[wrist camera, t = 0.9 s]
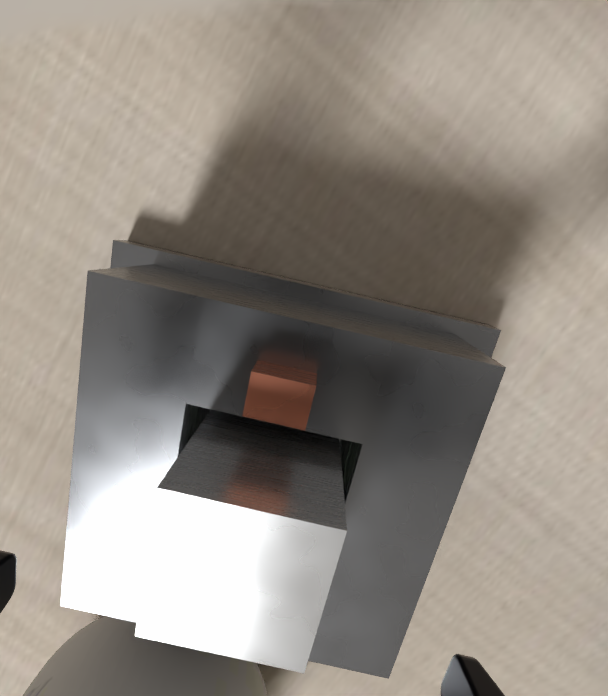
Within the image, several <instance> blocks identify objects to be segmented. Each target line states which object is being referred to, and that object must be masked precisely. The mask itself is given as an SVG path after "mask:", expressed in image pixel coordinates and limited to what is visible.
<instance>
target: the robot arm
mask: <svg viewBox="0 0 608 696" xmlns="http://www.w3.org/2000/svg"><path fill="white" fill-rule="evenodd" d="M16 563H17V559H16V556H15V554H13V553H9V552H5V551H0V613H1V612H2V610H3V609H4V607H5V606H6V604H7V603H8V601H9V600H10V598H11V596H12V594H13V592H14V589H15V585H16ZM441 696H505V695H504V694H503V693H502V691H501V690H500V689H499V687H498V686H497V685H496V683H495V682H494V681H493V680H492V678H491V677H490V676H489V674H488V673H487V672H486V671H485V669H484V668H483V667H482V665H481V664H480V663H479V662H478V661H477V660H476V659H475V658H473V657H469V656H464V655H460V654H456V655H454V656H453V657H452V659H451V662H450V664H449V667H448V669H447V671H446V674H445V676H444V678H443V681H442V685H441Z"/></svg>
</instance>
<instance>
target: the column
mask: <svg viewBox="0 0 608 696" xmlns="http://www.w3.org/2000/svg"><path fill="white" fill-rule="evenodd" d="M346 533H347V524H346V512H345V500H344V489H343V477H342V465H341V454H340V439H338V438H334V437H330V436H325V435H321V434H317V433H312V432H308V431H303V430H299V429H295V428H290V427H286V426H282V425H277V424H273V423H268V422H264V421H260V420H255V419H251V418H247V417H242V416H238V415H233V414H229V413H225V412H220V411H216V410H212V409H210V411H209V413H208V414H207V416H206V417H205V419H204V420H203V422H202V423H201V424H200V426H199V427H198V429H197V430H196V432H195V433H194V435H193V436H192V437H191V439H190V440H189V442H188V443H187V445H186V446H185V448H184V449H183V450H182V452H181V453H180V455H179V456H178V458H177V459H176V461H175V462H174V464H173V465H172V466H171V468H170V469H169V471H168V472H167V474H166V475H165V477H164V478H163V479H162V481H161V482H160V484H159V485H158V487H157V489H156V496H155V503H154V510H153V516H152V523H151V530H150V537H149V543H148V550H147V557H146V564H145V571H144V577H143V584H142V591H141V598H140V604H139V611H138V618H137V625H136V632H135V636H137V637H142V638H146V639H151V640H155V641H160V642H164V643H169V644H173V645H178V646H182V647H187V648H191V649H196V650H201V651H205V652H210V653H214V654H219V655H223V656H228V657H232V658H237V659H241V660H246V661H250V662H255V663H259V664H264V665H268V666H273V667H277V668H282V669H286V670H291V671H295V672H300V673H304V672H305V669H306V666H307V662H308V659H309V656H310V652H311V649H312V646H313V643H314V639H315V636H316V633H317V629H318V626H319V623H320V619H321V616H322V613H323V609H324V606H325V603H326V599H327V596H328V593H329V589H330V586H331V583H332V579H333V576H334V573H335V569H336V566H337V563H338V560H339V556H340V553H341V550H342V546H343V543H344V540H345V536H346Z"/></svg>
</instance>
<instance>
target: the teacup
mask: <svg viewBox="0 0 608 696" xmlns="http://www.w3.org/2000/svg"><path fill="white" fill-rule="evenodd" d="M136 625H137V623H136V622H132V621H127V620H123V619H118V618H114V617H109V616H104V617H102V618H100V619H98V620H96V621H94V622H92V623H90V624H89V625H87V626H86V627H84V628H83V629H81V630H80V631H78V632H77V633H76V634H74V635H73V636H72V637H71V638H70V639H69V640H68V641H66V642H65V643H64V644H63V645H62V646H61V647H60V648H59V649H58V650H57V651H56V652H55V653H54V655H53V656H52V657H51V658H50V659H49V660H48V662H47V663H46V664H45V665H44V667H43V668H42V669H41V671H40V672H39V674H38V675H37V676H36V678H35V679H34V680H33V682H32V683H31V684H30V686H29V687H28V689H27V690H26V692H25V693H24V694H23V696H268V695H267V690H266V686H265V683H264V680H263V677H262V674H261V672H260V669H259V667H258V665H257V663H255V662H250V661H246V660H241V659H237V658H232V657H228V656H223V655H219V654H214V653H210V652H205V651H201V650H196V649H191V648H187V647H182V646H178V645H173V644H169V643H164V642H160V641H155V640H151V639H146V638H142V637H137V636H135V632H136Z"/></svg>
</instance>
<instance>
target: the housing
mask: <svg viewBox="0 0 608 696" xmlns="http://www.w3.org/2000/svg"><path fill="white" fill-rule="evenodd" d="M500 331H501V330H499V329H497V328H495V327H493V326H490V325H487V324H483V323H479V322H474V321H470V320H466V319H462V318H457V317H453V316H449V315H444V314H440V313H436V312H431V311H427V310H423V309H419V308H414V307H410V306H406V305H401V304H397V303H393V302H389V301H384V300H380V299H376V298H371V297H367V296H363V295H359V294H354V293H350V292H346V291H341V290H337V289H333V288H328V287H324V286H320V285H316V284H311V283H307V282H303V281H298V280H294V279H290V278H286V277H281V276H277V275H273V274H268V273H264V272H260V271H255V270H251V269H247V268H243V267H238V266H234V265H230V264H225V263H221V262H217V261H213V260H208V259H204V258H200V257H195V256H191V255H187V254H183V253H178V252H174V251H170V250H165V249H161V248H157V247H152V246H148V245H144V244H140V243H135V242H131V241H125V240H113V247H112V258H111V268H109V269H99V270H89V271H88V275H87V287H86V299H85V311H84V323H83V335H82V348H81V360H80V372H79V384H78V396H77V409H76V421H75V433H74V445H73V457H72V469H71V482H70V494H69V506H68V518H67V530H66V543H65V555H64V567H63V579H62V591H61V603H60V606H64V607H69V608H73V609H78V610H82V611H87V612H91V613H96V614H100V615H105V616H109V617H114V618H118V619H123V620H127V621H132V622H136V623H137V618H138V611H139V604H140V598H141V591H142V584H143V577H144V571H145V564H146V557H147V550H148V543H149V537H150V530H151V523H152V516H153V510H154V503H155V496H156V489H157V487H158V485H159V484H160V482H161V481H162V479H163V478H164V477H165V475H166V474H167V472H168V471H169V469H170V468H171V466H172V465H173V464H174V462H175V461H176V459H177V458H178V456H179V455H180V453H181V452H182V450H183V449H184V448H185V446H186V445H187V443H188V442H189V440H190V439H191V437H192V436H193V435H194V433H195V432H196V430H197V429H198V427H199V426H200V424H201V423H202V422H203V420H204V419H205V417H206V416H207V414H208V413H209V411H210V409H212V410H216V411H220V412H225V413H229V414H233V415H238V416H242V417H247V418H251V419H255V420H260V421H264V422H268V423H273V424H277V425H282V426H286V427H290V428H295V429H299V430H303V431H308V432H312V433H317V434H321V435H325V436H330V437H334V438H338V439H340V454H341V465H342V477H343V489H344V500H345V512H346V524H347V533H346V536H345V540H344V543H343V546H342V550H341V553H340V556H339V560H338V563H337V566H336V569H335V573H334V576H333V579H332V583H331V586H330V589H329V593H328V596H327V599H326V603H325V606H324V609H323V613H322V616H321V619H320V623H319V626H318V629H317V633H316V636H315V639H314V643H313V646H312V649H311V652H310V656H309V659H308V661H312V662H316V663H321V664H325V665H330V666H334V667H339V668H343V669H348V670H352V671H357V672H361V673H366V674H370V675H375V676H379V677H384V678H388V679H389V676H390V674H391V671H392V668H393V666H394V663H395V660H396V658H397V655H398V652H399V650H400V647H401V644H402V642H403V639H404V636H405V634H406V631H407V628H408V626H409V623H410V621H411V618H412V615H413V613H414V610H415V607H416V605H417V602H418V599H419V597H420V594H421V591H422V589H423V586H424V583H425V581H426V578H427V575H428V573H429V570H430V567H431V565H432V562H433V560H434V557H435V554H436V552H437V549H438V546H439V544H440V541H441V538H442V536H443V533H444V530H445V528H446V525H447V522H448V520H449V517H450V514H451V512H452V509H453V506H454V504H455V501H456V499H457V496H458V493H459V491H460V488H461V485H462V483H463V480H464V477H465V475H466V472H467V469H468V467H469V464H470V461H471V459H472V456H473V453H474V451H475V448H476V445H477V443H478V440H479V438H480V435H481V432H482V430H483V427H484V424H485V422H486V419H487V416H488V414H489V411H490V408H491V406H492V403H493V400H494V398H495V395H496V392H497V390H498V387H499V384H500V382H501V379H502V376H503V374H504V371H505V369H506V367H504V366H503V365H501V364H500V363H498V362H497V361H495V360H494V359H492V358H491V356H492V353H493V351H494V348H495V345H496V342H497V340H498V337H499V334H500Z"/></svg>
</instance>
